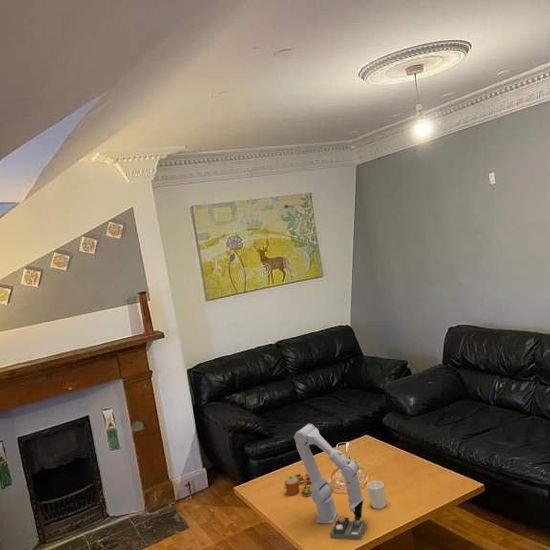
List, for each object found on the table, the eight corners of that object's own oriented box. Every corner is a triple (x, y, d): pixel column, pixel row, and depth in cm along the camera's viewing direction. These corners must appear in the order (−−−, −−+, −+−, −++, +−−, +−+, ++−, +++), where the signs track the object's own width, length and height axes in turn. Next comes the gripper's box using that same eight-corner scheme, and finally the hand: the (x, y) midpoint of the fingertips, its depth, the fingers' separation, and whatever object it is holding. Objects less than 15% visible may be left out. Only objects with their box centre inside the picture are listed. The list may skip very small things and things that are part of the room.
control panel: (336, 524, 239) (335, 516, 239) (366, 526, 234) (364, 517, 234) (330, 538, 230) (329, 529, 230) (361, 539, 225) (359, 531, 224)
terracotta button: (340, 520, 237) (339, 515, 237) (346, 520, 236) (345, 516, 236) (338, 523, 234) (337, 519, 234) (344, 524, 233) (344, 519, 233)
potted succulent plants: (313, 498, 268) (310, 479, 267) (284, 499, 272) (280, 481, 271) (321, 473, 293) (318, 456, 292) (294, 475, 297) (291, 458, 296)
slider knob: (355, 522, 234) (354, 516, 234) (362, 522, 233) (360, 516, 233) (353, 526, 231) (352, 520, 231) (360, 526, 230) (359, 520, 230)
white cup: (367, 504, 251) (363, 484, 250) (380, 498, 254) (377, 479, 254) (376, 511, 244) (373, 490, 243) (390, 505, 247) (387, 484, 246)
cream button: (337, 528, 232) (336, 524, 232) (344, 528, 231) (343, 524, 231) (335, 532, 230) (334, 528, 229) (342, 532, 228) (341, 528, 228)
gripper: (358, 497, 225) (364, 528, 226) (365, 481, 239) (370, 509, 240) (342, 497, 228) (348, 527, 229) (350, 481, 241) (355, 509, 242)
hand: (358, 518), depth 234 cm, fingers closed
